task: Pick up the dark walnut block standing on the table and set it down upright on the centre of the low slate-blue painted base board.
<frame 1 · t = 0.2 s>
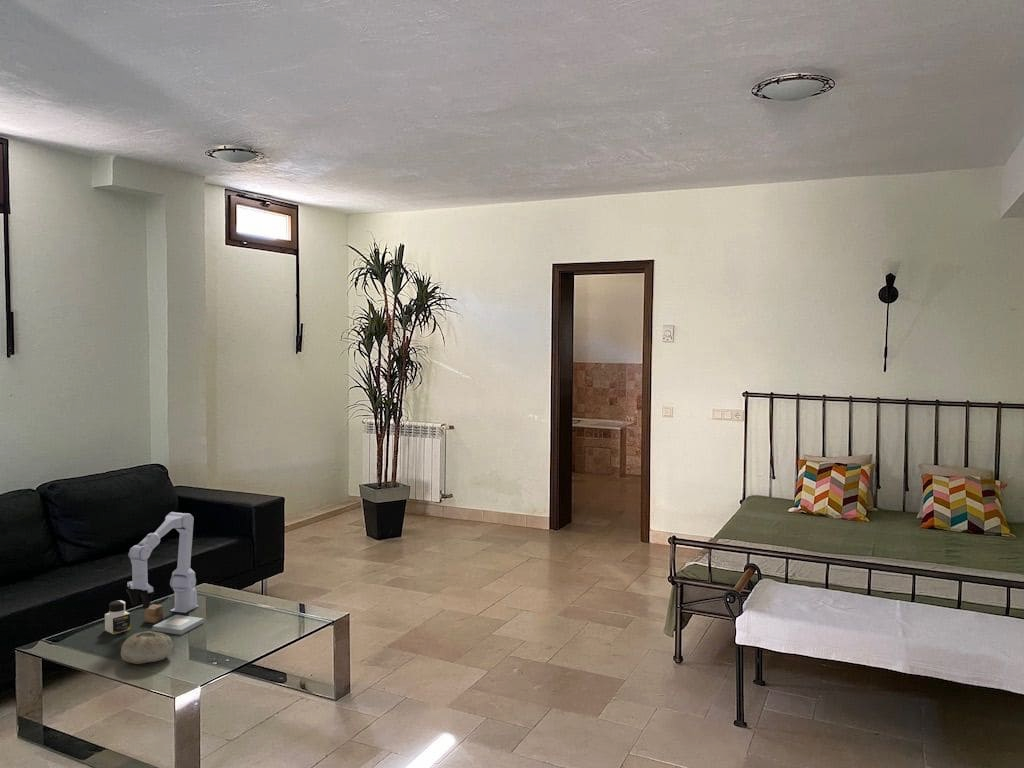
hand: (140, 606, 328), 10 cm above the table, fingers open, 7 cm apart
walnut block: (153, 620, 339), on the table
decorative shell: (147, 660, 298), on the table
medicine bottle: (117, 630, 327), on the table
base board: (178, 626, 332), on the table
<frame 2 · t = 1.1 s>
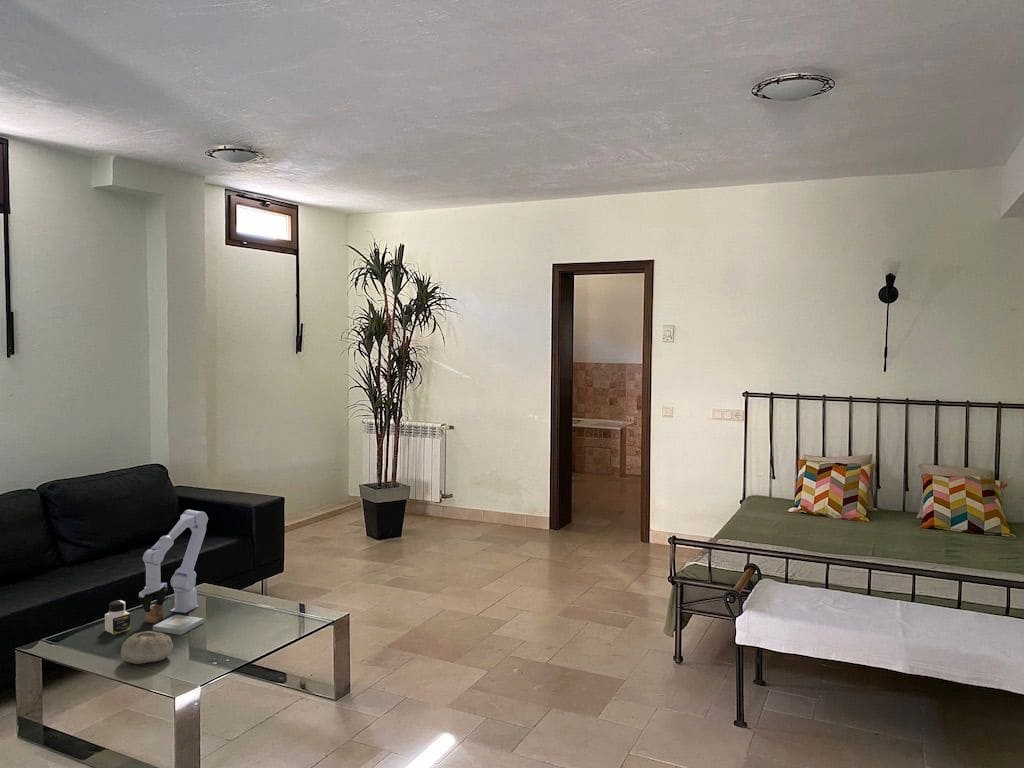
hand: (153, 608, 338), 5 cm above the table, fingers open, 7 cm apart
nothing on the table moved.
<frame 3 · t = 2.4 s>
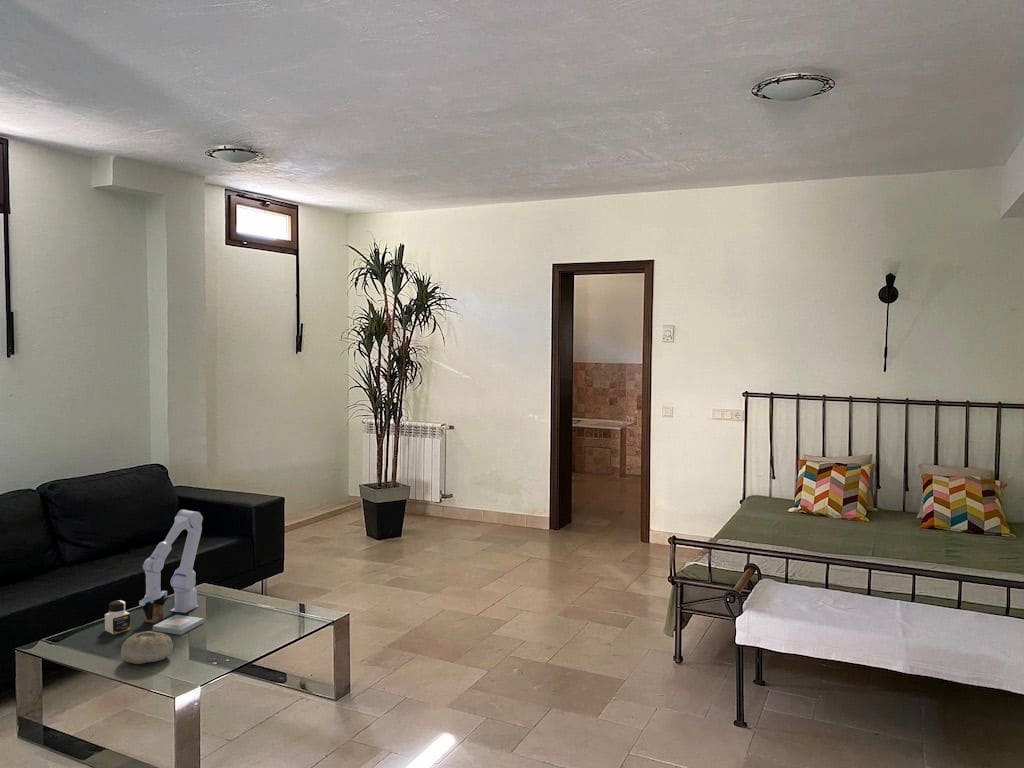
hand: (153, 617, 339), 1 cm above the table, fingers closed on walnut block, 5 cm apart
walnut block: (153, 620, 339), on the table, touching gripper
everything else where it was.
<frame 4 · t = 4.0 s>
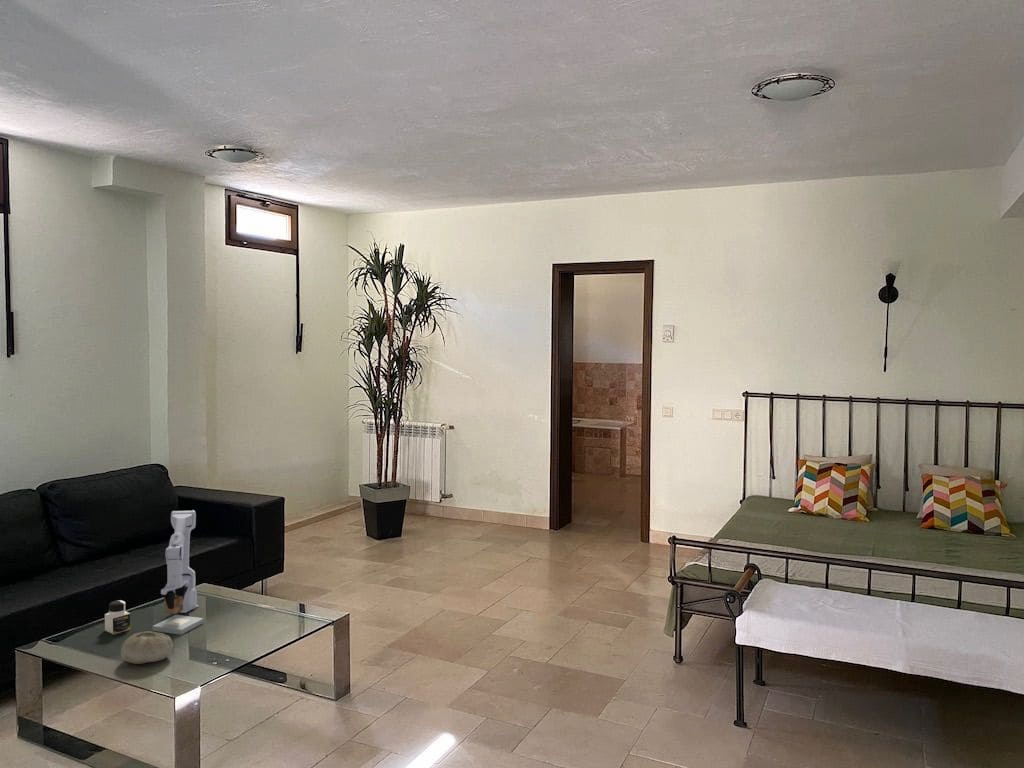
hand: (175, 606, 332), 8 cm above the table, fingers closed on walnut block, 5 cm apart
walnut block: (173, 611, 332), point 6 cm above the table, touching gripper
everything else where it was.
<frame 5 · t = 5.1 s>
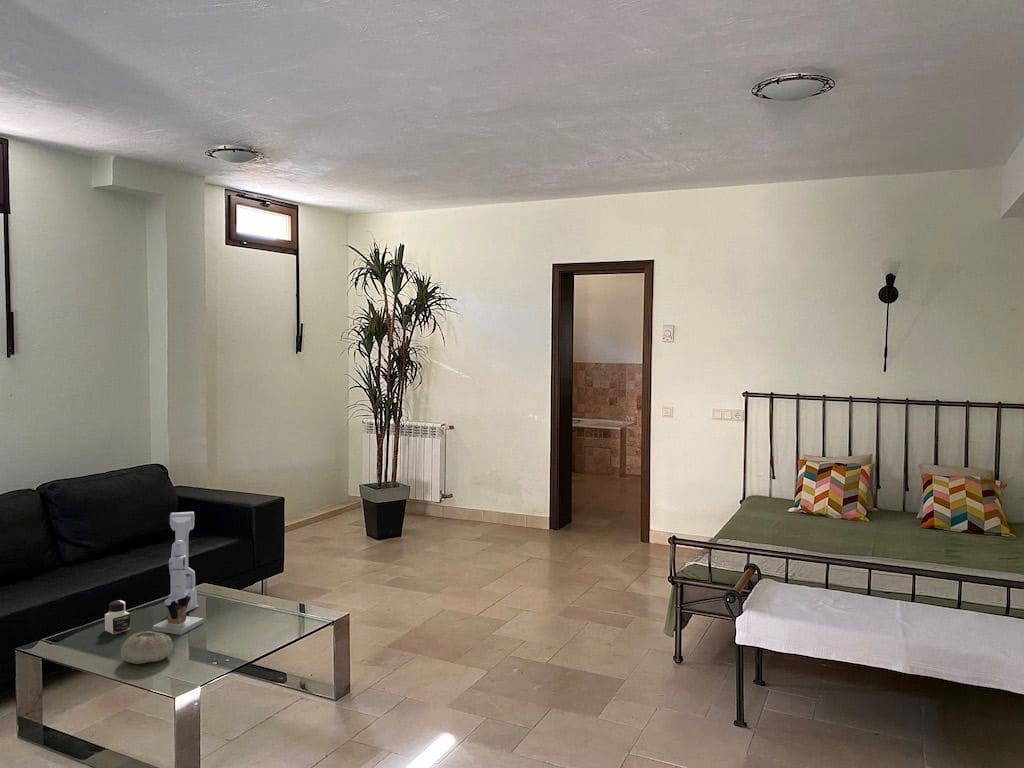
hand: (178, 616, 331), 4 cm above the table, fingers closed on walnut block, 5 cm apart
walnut block: (177, 621, 332), point 2 cm above the table, touching base board, gripper
everything else where it was.
when the fingers open (4 cm above the table, at t = 5.8 s): walnut block stays where it is, resting on base board.
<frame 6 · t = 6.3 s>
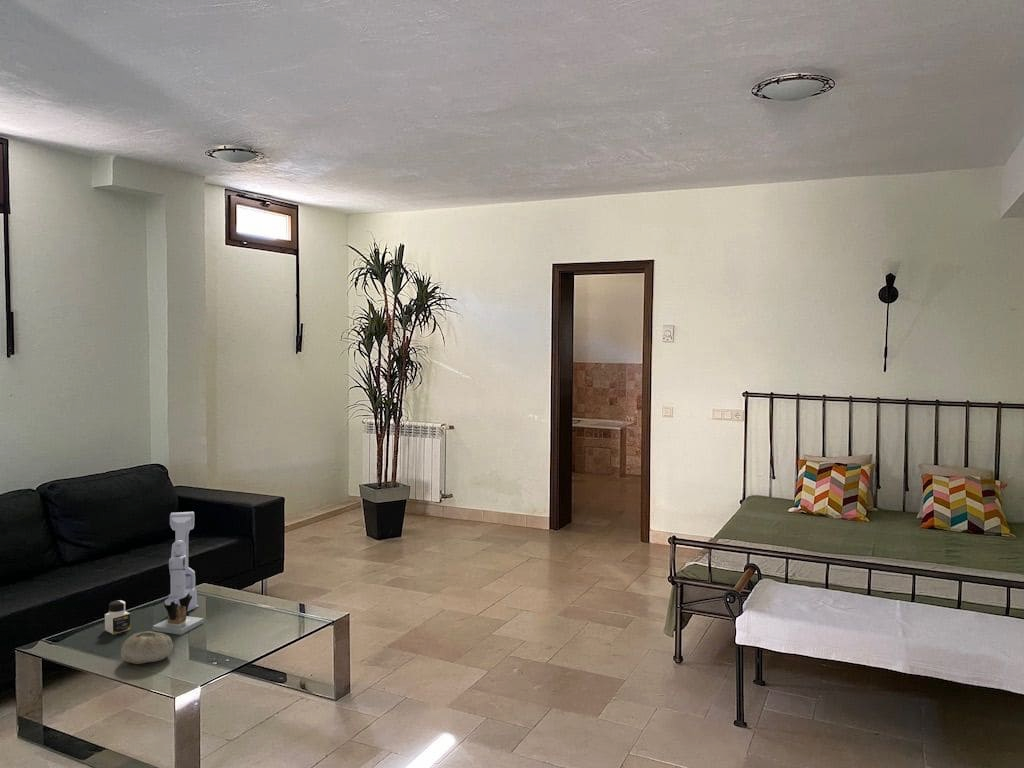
hand: (178, 616, 331), 4 cm above the table, fingers open, 7 cm apart
walnut block: (177, 621, 332), point 2 cm above the table, touching base board
everything else where it was.
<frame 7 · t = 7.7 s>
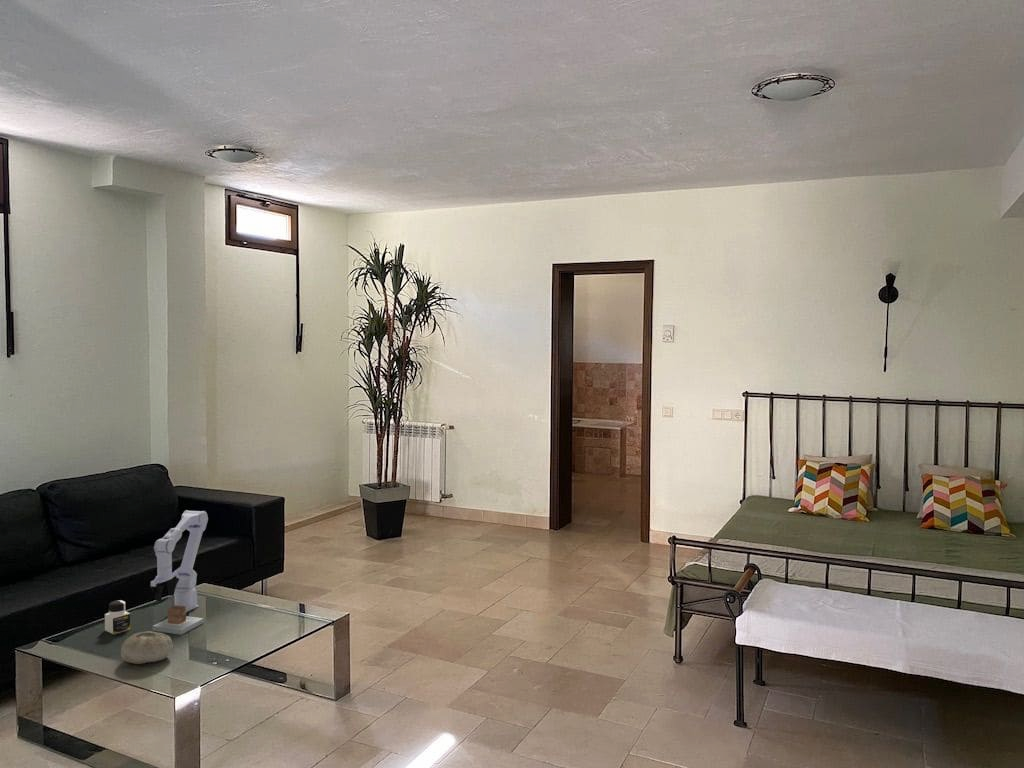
hand: (164, 598, 338), 10 cm above the table, fingers open, 7 cm apart
nothing on the table moved.
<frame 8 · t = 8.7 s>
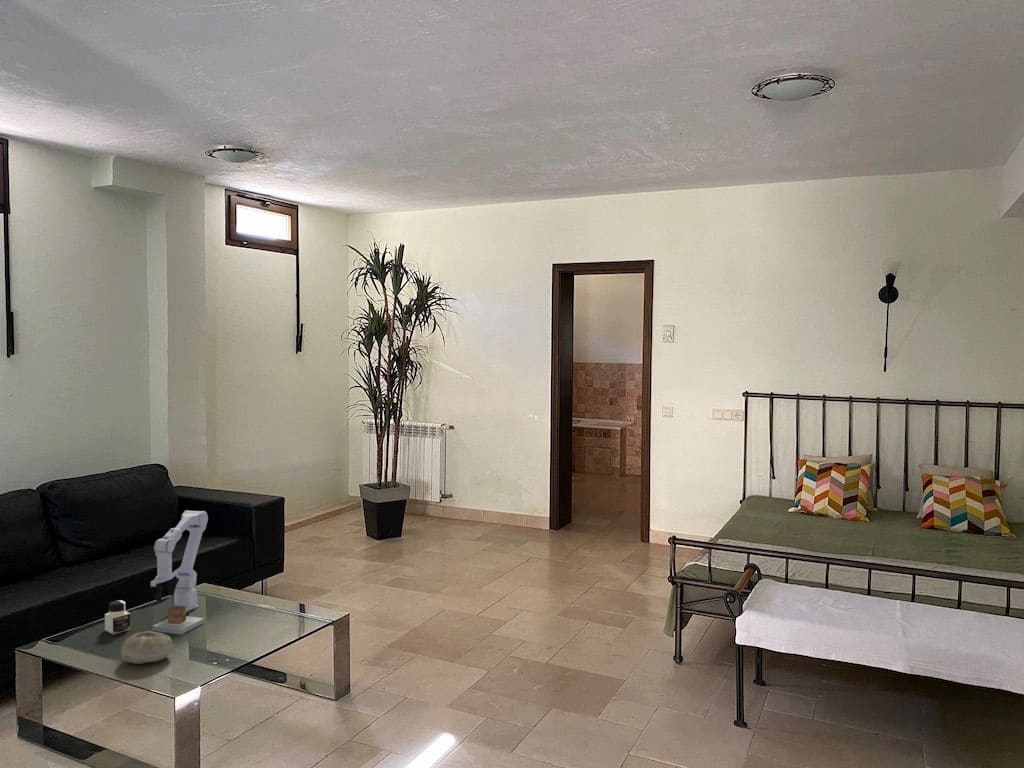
hand: (164, 598, 338), 10 cm above the table, fingers open, 7 cm apart
nothing on the table moved.
at the end: walnut block inside the target area on the base board (0.7 cm from its centre), point 2.1 cm above the base board's base; walnut block tilted 0°; the gripper is holding nothing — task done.
